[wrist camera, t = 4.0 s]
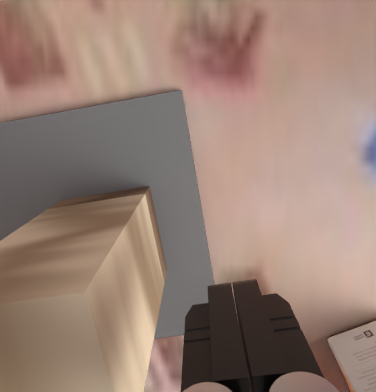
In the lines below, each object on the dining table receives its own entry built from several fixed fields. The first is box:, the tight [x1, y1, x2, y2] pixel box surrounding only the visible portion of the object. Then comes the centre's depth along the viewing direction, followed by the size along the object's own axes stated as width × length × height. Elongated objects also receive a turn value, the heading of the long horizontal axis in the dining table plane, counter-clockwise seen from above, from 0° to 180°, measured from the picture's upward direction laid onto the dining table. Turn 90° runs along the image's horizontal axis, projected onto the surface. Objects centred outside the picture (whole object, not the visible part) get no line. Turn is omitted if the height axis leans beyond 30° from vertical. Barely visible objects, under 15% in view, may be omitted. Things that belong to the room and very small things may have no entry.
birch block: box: [0, 186, 167, 392], centre depth 13 cm, size 5×5×10 cm
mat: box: [0, 90, 214, 339], centre depth 18 cm, size 20×14×1 cm
